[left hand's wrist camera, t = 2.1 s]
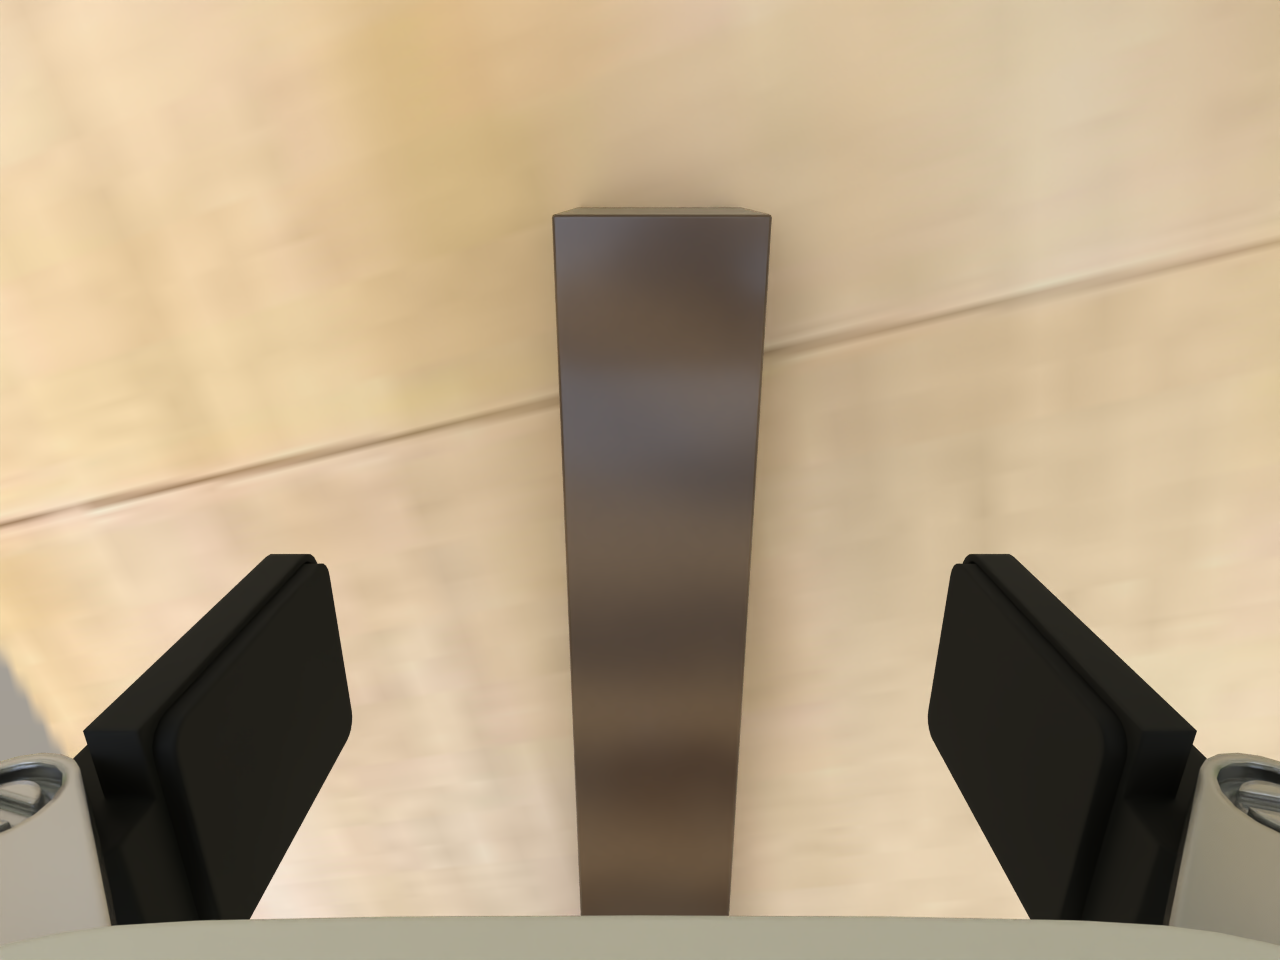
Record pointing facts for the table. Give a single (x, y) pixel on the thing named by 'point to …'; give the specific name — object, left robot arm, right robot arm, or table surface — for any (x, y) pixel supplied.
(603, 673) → the bar
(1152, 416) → the table surface
